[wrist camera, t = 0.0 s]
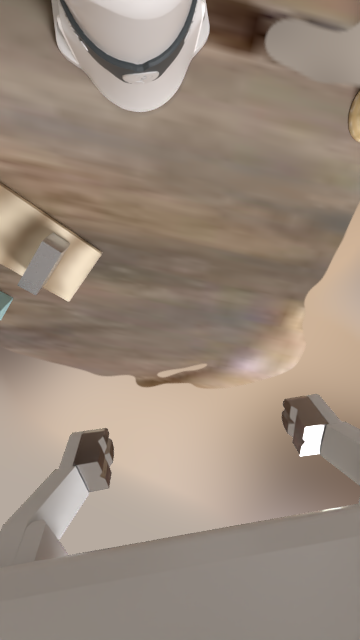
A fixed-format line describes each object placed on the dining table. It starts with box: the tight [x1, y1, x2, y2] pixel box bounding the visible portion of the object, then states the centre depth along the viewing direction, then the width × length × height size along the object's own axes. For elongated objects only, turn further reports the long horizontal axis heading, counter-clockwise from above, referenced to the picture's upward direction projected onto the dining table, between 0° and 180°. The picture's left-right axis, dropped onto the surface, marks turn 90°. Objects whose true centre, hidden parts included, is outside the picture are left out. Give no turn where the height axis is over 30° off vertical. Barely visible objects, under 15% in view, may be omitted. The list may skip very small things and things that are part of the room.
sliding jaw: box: [18, 232, 70, 295], centre depth 41 cm, size 3×9×5 cm, turn 140°
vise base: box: [0, 182, 102, 302], centre depth 39 cm, size 22×12×8 cm, turn 50°
